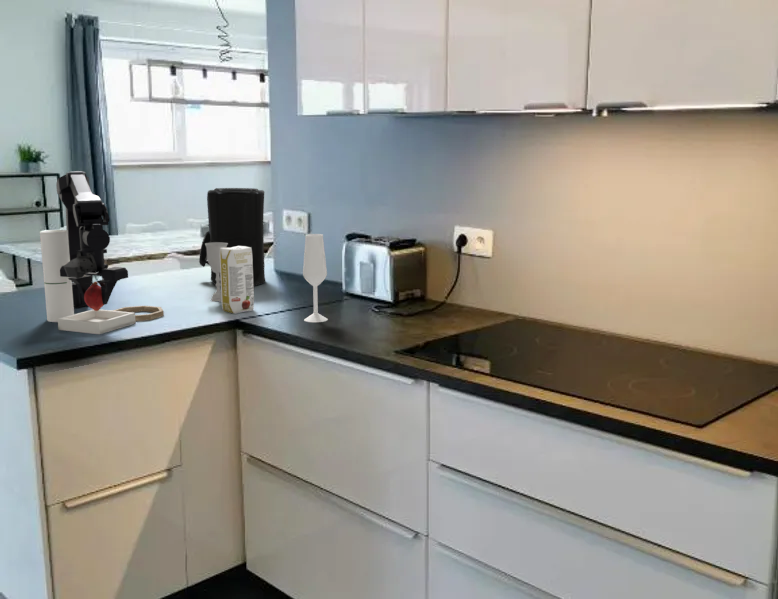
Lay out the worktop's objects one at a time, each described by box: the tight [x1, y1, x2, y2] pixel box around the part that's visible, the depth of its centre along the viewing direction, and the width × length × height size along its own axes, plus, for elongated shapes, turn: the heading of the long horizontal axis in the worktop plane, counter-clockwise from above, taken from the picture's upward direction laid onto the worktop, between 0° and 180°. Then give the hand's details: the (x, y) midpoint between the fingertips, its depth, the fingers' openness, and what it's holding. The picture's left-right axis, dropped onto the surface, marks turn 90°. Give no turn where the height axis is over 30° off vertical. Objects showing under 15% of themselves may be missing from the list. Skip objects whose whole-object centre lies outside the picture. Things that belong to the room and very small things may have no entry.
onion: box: [84, 281, 104, 311], centre depth 215 cm, size 6×6×8 cm
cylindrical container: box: [39, 229, 75, 323], centre depth 223 cm, size 7×7×25 cm
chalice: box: [205, 242, 228, 302], centre depth 252 cm, size 7×7×18 cm
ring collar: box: [112, 305, 165, 322], centre depth 230 cm, size 14×14×2 cm
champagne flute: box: [302, 233, 329, 323], centre depth 223 cm, size 7×7×24 cm
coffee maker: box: [198, 187, 266, 287], centre depth 281 cm, size 23×32×34 cm
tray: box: [57, 308, 137, 335], centre depth 217 cm, size 14×14×3 cm
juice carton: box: [220, 246, 255, 315], centre depth 235 cm, size 8×9×19 cm
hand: (96, 303), depth 216 cm, fingers closed on onion, 6 cm apart
